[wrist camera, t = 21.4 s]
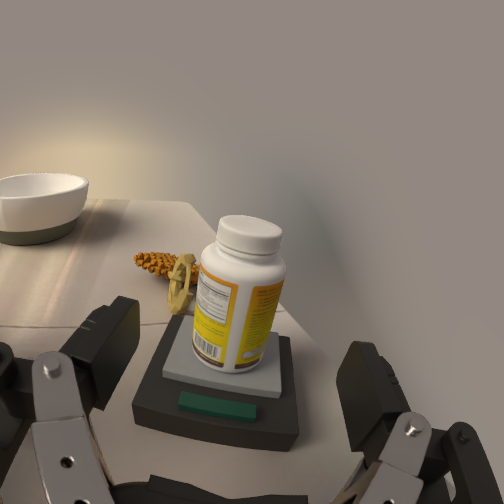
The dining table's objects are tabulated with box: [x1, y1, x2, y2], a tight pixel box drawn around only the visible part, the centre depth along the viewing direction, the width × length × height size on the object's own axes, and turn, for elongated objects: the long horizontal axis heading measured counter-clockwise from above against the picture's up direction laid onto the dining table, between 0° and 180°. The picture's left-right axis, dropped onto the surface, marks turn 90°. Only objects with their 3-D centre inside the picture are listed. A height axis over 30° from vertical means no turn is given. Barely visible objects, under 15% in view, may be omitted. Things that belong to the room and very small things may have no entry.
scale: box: [132, 315, 299, 452], centre depth 21 cm, size 11×11×3 cm
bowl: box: [0, 173, 89, 245], centre depth 40 cm, size 22×22×8 cm
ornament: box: [133, 252, 200, 315], centre depth 34 cm, size 7×10×15 cm
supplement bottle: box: [192, 215, 286, 373], centre depth 20 cm, size 6×6×10 cm
